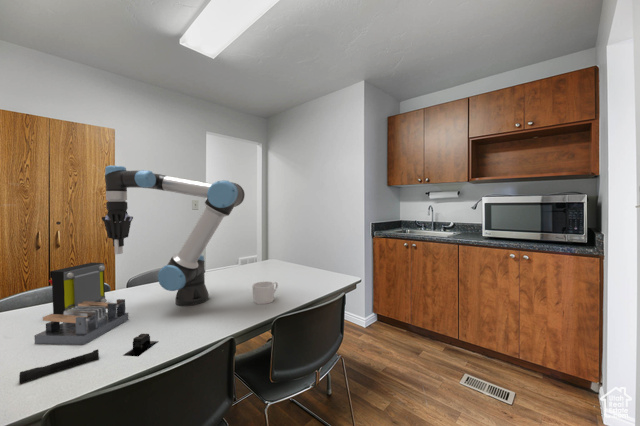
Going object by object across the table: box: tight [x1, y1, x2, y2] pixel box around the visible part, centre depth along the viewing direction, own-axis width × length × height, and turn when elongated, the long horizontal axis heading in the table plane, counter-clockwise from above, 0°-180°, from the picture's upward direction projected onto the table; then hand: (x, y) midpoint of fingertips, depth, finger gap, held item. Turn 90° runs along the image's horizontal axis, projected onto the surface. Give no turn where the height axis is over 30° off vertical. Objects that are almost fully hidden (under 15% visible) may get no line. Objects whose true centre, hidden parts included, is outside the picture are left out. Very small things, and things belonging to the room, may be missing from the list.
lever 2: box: [78, 301, 117, 310], centre depth 109 cm, size 14×3×1 cm, turn 87°
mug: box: [252, 281, 279, 305], centre depth 134 cm, size 13×10×8 cm
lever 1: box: [42, 313, 88, 323], centre depth 96 cm, size 14×3×1 cm, turn 87°
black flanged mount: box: [122, 333, 159, 357], centre depth 90 cm, size 12×7×5 cm, turn 173°
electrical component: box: [48, 262, 107, 315], centre depth 124 cm, size 18×10×20 cm, turn 168°
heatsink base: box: [33, 298, 130, 346], centre depth 102 cm, size 18×20×9 cm
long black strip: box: [18, 349, 100, 384], centre depth 78 cm, size 3×16×3 cm, turn 133°
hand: (118, 253), depth 120 cm, fingers closed
